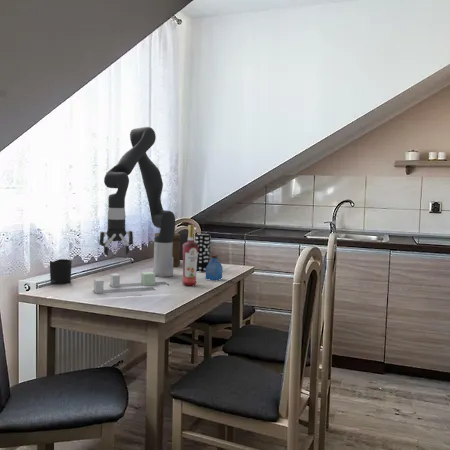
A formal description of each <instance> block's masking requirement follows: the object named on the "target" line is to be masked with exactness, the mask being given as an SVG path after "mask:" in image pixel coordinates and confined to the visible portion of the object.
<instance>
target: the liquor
mask: <svg viewBox="0 0 450 450" xmlns="http://www.w3.org/2000/svg"><path fill="white" fill-rule="evenodd" d="M187 227H188V234H187V235H188V236H187V240H186V241H187V242H184V243H183V244H182V281H181V284H183V285H184V286H185V285H186V286H185V287H194V286H195V285H196V284H197V272H196V269H197V257H198V244H197V243H195V240H194V239H195V238H194V236H195V235H194V232H195V231H194V229H195V225H194V224H188V225H187ZM193 285H194V286H193Z"/></svg>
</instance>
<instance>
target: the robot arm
mask: <svg viewBox="0 0 450 450" xmlns="http://www.w3.org/2000/svg"><path fill="white" fill-rule="evenodd" d="M156 136H157V135H156V132H155V130H154V129H153V128H152V127H151V126H144V127H137V128H132V129H131V130H130V133H129V140H130V143H131V146H132V147H131V148H130V149H129V150H128V151H126V152H125V153H124V154H123V155H122V156H121V158H120V159H119V161H118V162H117V164H116V165H114V166H113V167H111V168H109V170H108V171H107V172H106V174H105V176H104V179H103V183H104V185H105V187H107V188H109V189H117V191H116V192H114V193H111V194H109V195H108V197H107V198H108V199H107V201H108V205H107V207H108V208H107V231H100V232H99V242H98V243H99V246H101V247H103V253H104V255H105V256H109V247H108V246H110V245H109V244H111V242H122V243H123V244H124V254H125V255H128V254H129V253H130V251H129V250H130V246H131V245H133V244H134V237H133V236H134V235H133V231H132V230H128V231H127V230H126V201H125V200H126V196H127V191H128V189H129V186H130V185H129V184H130V177H129V176H130V174H131V173H132V171H134V169H135V167H136V165H137V164H138V166H139V171H140V174H141V178H142V182H143V186H144V190H145V192H146V193H145V194H146V197H147V202H148V205H149V212H150V218H151V222H152V224H153V226H154V227H155V228H158V229H160V231H159V232H158V233H159V234H158V235H156V236H155V235H154V240H153V241H154V243H153V245H154V246H153V271H152V272H153V273H155V277H160V278H169V277H173V276H174V267H173V257H172V245H173V237H174V233H176V216H175V213H174V212H173V211H171V210H164V208H163V205H162V198H161V197H162V192H163V187H164V183H163V179H162V174H161V172H160V169H159V167H158V166H157V165H156V164H155V163H154V162H153V161H152V160H151V159H150V158H149V155H148V154H147V152H148V151H149V150H150V149H151V147H153V145H155V142H156V139H157V137H156ZM106 235H107V238H106V241H105V242H104V239H105V237H106ZM125 236H128V241H127V239H126V238H125Z"/></svg>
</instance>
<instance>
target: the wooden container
mask: <svg viewBox="0 0 450 450" xmlns="http://www.w3.org/2000/svg"><path fill="white" fill-rule="evenodd" d="M159 233H160V232H157V233H154V237H155V236H156V235H158V234H159ZM172 257H173V268H176V267H180V266H181V233H176V232H175V233H174V237H173V245H172Z"/></svg>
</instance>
